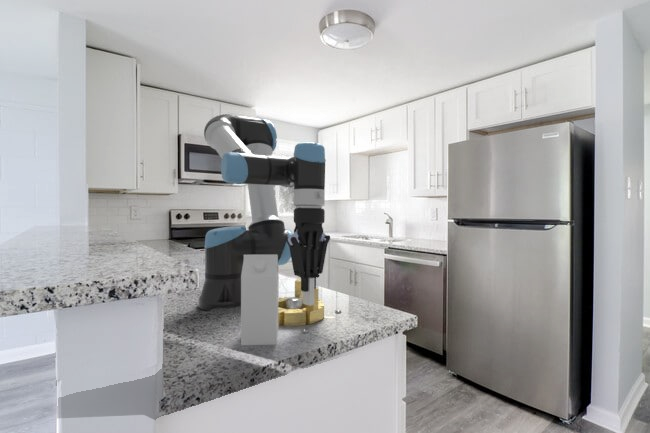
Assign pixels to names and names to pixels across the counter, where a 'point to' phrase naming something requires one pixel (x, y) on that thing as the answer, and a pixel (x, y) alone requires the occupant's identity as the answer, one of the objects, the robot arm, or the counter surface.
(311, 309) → the gold foil sensor mount
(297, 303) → the flange plate
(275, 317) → the milk carton
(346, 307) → the counter surface
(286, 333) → the counter surface
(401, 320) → the counter surface
